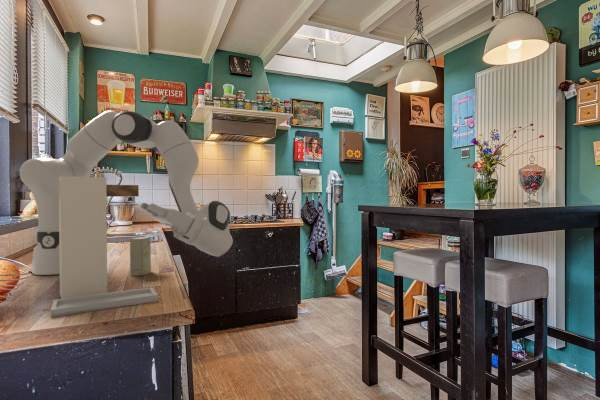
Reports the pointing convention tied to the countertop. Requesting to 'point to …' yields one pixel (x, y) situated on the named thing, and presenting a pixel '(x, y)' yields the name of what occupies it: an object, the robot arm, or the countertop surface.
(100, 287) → the tall cream pillar
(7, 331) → the countertop surface
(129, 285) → the countertop surface
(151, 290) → the tray
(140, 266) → the skincare box
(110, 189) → the walnut bar
